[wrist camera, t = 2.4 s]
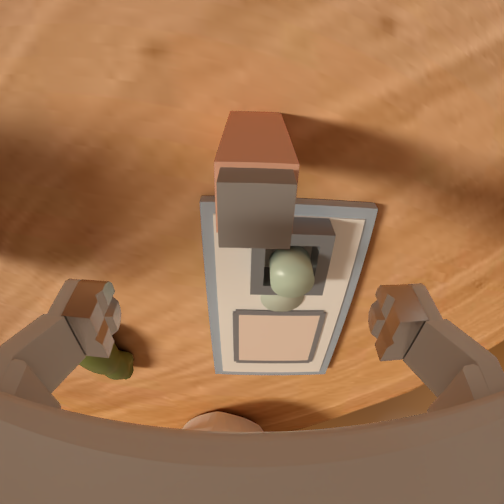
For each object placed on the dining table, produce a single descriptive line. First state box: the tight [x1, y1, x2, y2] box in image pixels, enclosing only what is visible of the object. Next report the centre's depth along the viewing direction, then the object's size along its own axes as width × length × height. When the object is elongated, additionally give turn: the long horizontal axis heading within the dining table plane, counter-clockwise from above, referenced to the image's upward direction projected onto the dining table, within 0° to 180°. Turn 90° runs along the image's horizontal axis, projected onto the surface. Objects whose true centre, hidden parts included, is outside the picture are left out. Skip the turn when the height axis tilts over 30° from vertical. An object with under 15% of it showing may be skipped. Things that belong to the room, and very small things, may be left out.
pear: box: [79, 343, 134, 380], centre depth 35 cm, size 6×5×10 cm
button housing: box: [250, 217, 336, 295], centre depth 25 cm, size 6×6×2 cm
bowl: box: [182, 411, 264, 432], centre depth 47 cm, size 21×21×9 cm
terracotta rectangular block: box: [214, 111, 299, 249], centre depth 17 cm, size 4×4×12 cm
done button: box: [269, 246, 315, 298], centre depth 24 cm, size 3×3×2 cm
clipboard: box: [200, 196, 378, 375], centre depth 32 cm, size 14×24×1 cm, turn 178°
